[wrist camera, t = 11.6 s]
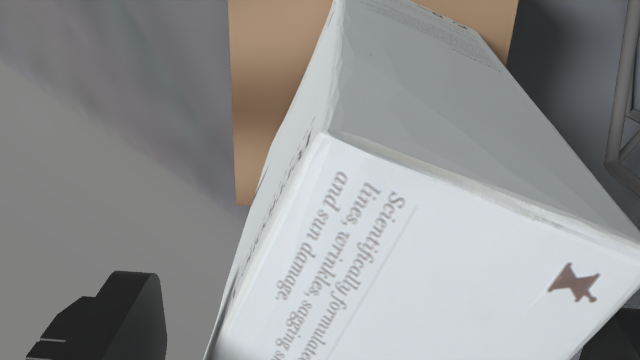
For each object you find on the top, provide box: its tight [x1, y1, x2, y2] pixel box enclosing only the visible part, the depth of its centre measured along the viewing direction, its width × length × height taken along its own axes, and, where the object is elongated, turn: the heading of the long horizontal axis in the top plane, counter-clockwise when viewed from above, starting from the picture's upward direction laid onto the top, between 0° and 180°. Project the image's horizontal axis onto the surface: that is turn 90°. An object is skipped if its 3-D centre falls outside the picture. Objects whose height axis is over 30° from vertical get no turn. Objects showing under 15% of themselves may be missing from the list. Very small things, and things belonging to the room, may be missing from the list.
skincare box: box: [203, 0, 640, 360], centre depth 16 cm, size 8×6×15 cm
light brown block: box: [228, 0, 519, 206], centre depth 25 cm, size 11×11×6 cm
